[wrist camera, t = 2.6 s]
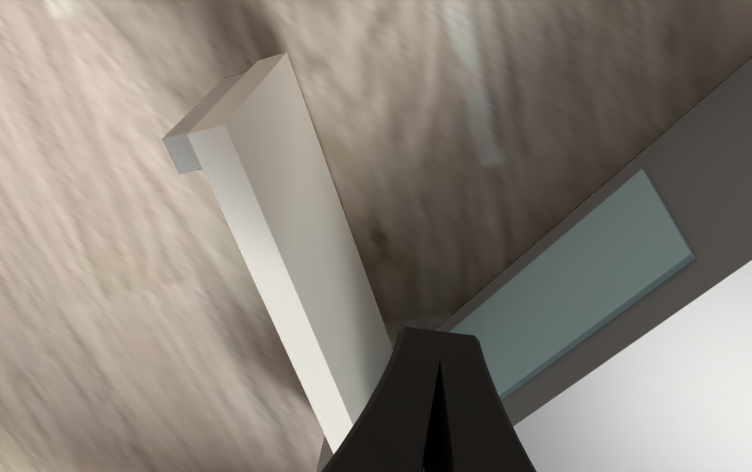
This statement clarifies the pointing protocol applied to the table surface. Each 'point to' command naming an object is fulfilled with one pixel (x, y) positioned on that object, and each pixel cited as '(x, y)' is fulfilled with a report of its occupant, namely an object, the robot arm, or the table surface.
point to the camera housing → (636, 311)
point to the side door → (290, 234)
